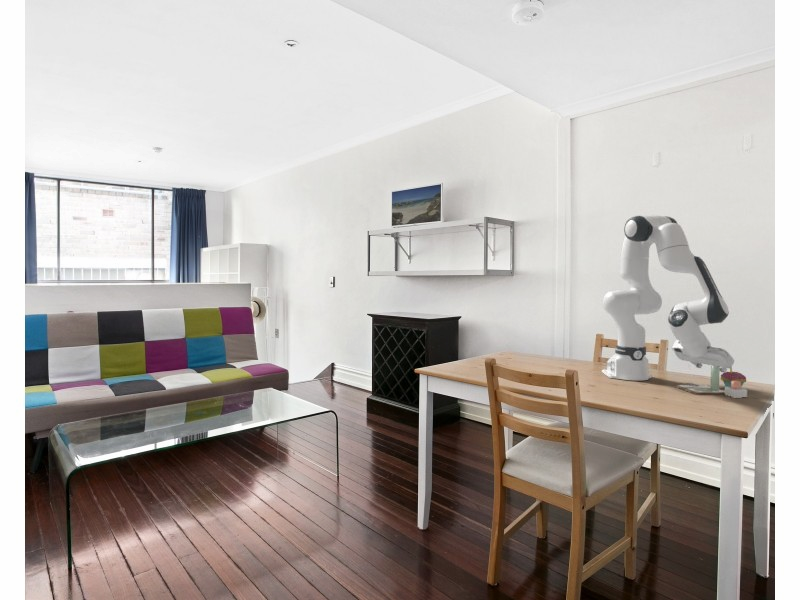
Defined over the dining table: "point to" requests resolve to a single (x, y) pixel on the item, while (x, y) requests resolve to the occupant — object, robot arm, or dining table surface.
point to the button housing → (735, 392)
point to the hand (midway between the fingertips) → (711, 368)
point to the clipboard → (699, 389)
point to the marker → (715, 378)
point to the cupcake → (732, 377)
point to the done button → (735, 384)
